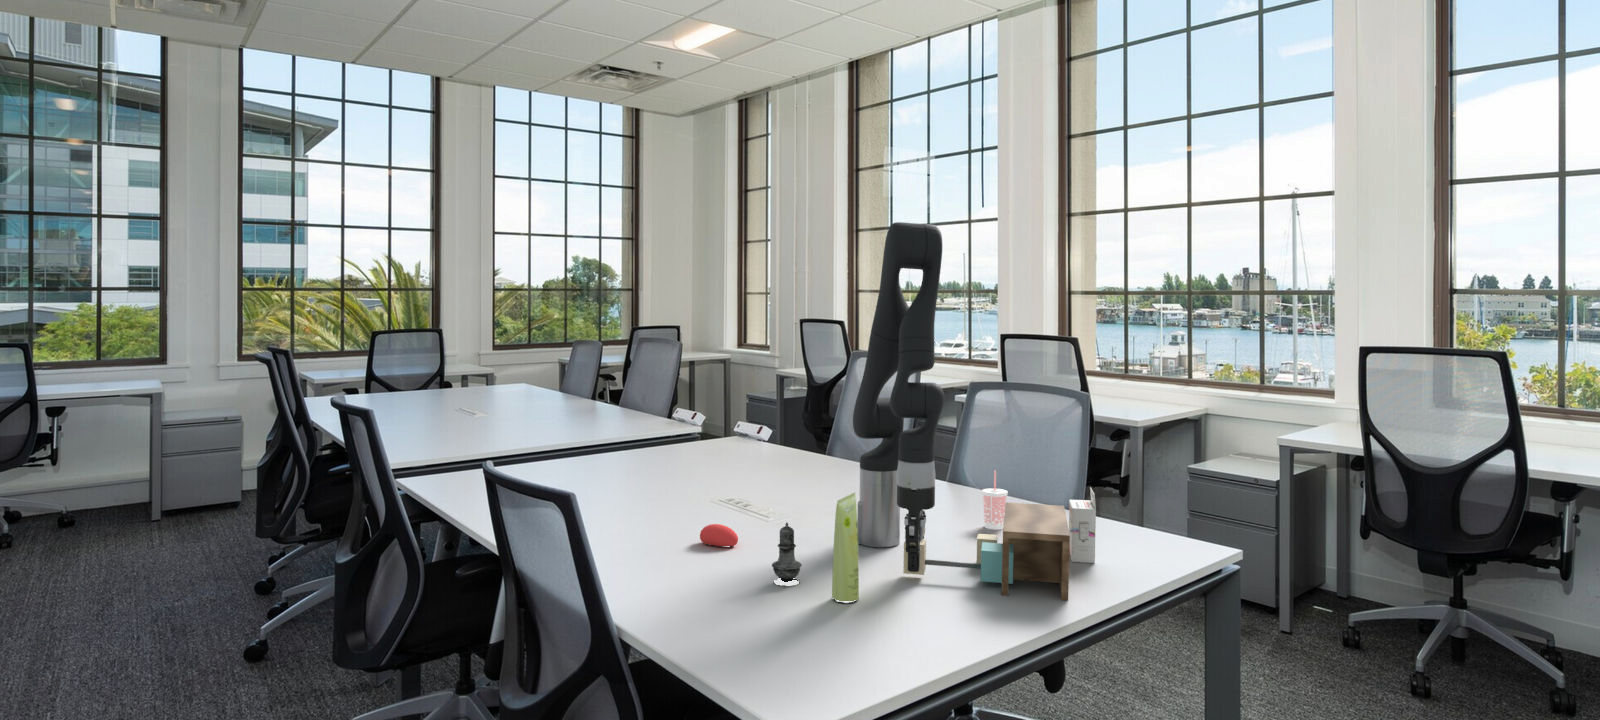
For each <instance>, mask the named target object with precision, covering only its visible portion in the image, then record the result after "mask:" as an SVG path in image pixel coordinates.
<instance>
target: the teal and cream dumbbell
mask: <svg viewBox="0 0 1600 720" xmlns="http://www.w3.org/2000/svg"><path fill="white" fill-rule="evenodd" d="M910 546H916V544H915V543H910ZM905 548H906V539H904V542H903V573H902V574H908V575H919V576H920V575H921V576H925V572H926V567H927V566H939V567H952V568H964V569H974V570H975V569H978V570H980V582H984V583H985V582H987V583H996V584H997V583H999V584H1002V550H1003V543H999V542H997V543H987V542H982V549H981V564H978V563H977V562H962V561H951V560H950V561H948V560H937V559H927V539H925V538H924V539H923V540H922V541H921V542H920V549H921V551H920V554H919V571H918V572H910V571H908V553H907V552H906V550H905ZM1013 583H1014V579H1013V544H1009V582H1008V584H1013Z"/></svg>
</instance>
